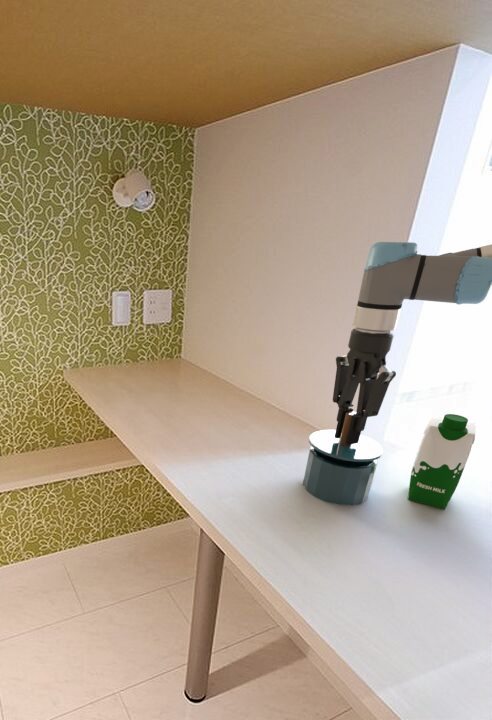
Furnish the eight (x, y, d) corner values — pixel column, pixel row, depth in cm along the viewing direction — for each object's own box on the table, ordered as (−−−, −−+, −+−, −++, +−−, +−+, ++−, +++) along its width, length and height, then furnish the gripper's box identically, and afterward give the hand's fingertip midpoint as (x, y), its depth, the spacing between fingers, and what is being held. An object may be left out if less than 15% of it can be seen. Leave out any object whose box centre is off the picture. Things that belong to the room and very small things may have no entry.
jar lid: (398, 458, 91) (409, 422, 87) (341, 469, 86) (351, 431, 82) (345, 430, 103) (353, 398, 100) (294, 439, 98) (300, 405, 95)
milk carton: (402, 500, 96) (430, 416, 87) (407, 482, 103) (432, 403, 94) (449, 513, 92) (483, 426, 83) (450, 494, 98) (482, 412, 90)
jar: (380, 500, 96) (392, 462, 91) (331, 512, 91) (340, 472, 87) (336, 472, 107) (344, 437, 103) (290, 480, 103) (297, 444, 99)
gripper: (423, 337, 78) (389, 453, 88) (357, 321, 91) (334, 424, 102) (391, 339, 76) (360, 458, 86) (328, 323, 89) (307, 428, 99)
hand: (346, 439), depth 94 cm, fingers closed on jar lid, 3 cm apart
